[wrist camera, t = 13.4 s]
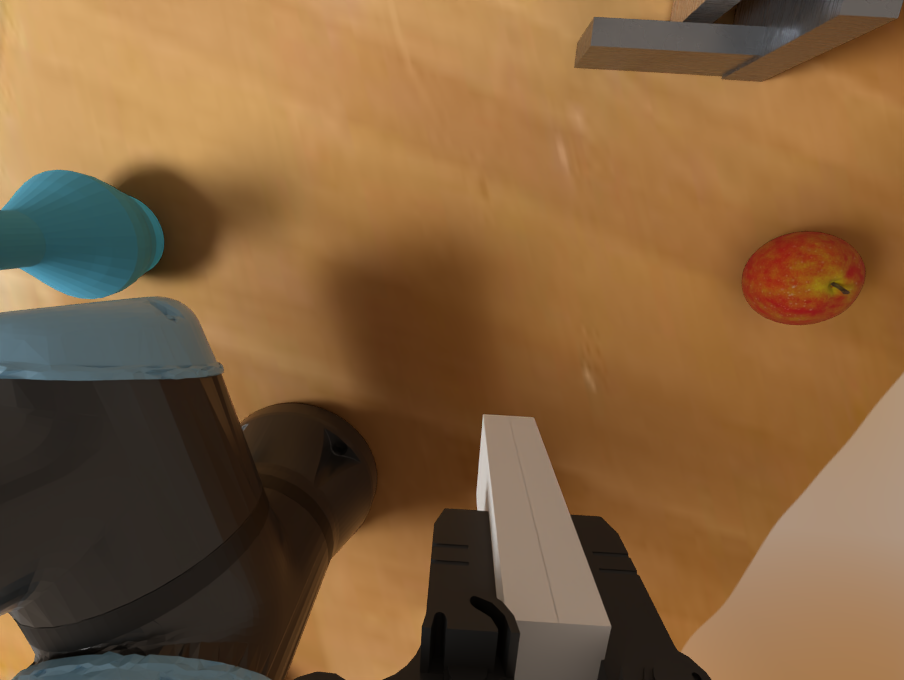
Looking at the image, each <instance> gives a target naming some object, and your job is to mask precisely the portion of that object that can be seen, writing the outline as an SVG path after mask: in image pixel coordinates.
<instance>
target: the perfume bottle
mask: <svg viewBox="0 0 904 680" xmlns="http://www.w3.org/2000/svg"><path fill="white" fill-rule="evenodd" d="M163 250H164V235H163V231H162V228H161V225H160V223H159V221H158V219H157V218H156V216H155V215H154V213H153V212H152V211H151V210H150V209H149V208H148V207H147V206H146V205H145V204H143V203H142V202H141V201H139V200H137V199H135V198H133V197H131V196H128V195H127V194H125V193H123V192H121V191H119V190H117V189H116V188H114V187H113V186H111V185H109V184H107V183H105V182H103V181H101V180H99V179H97V178H94V177H92V176H88V175H85V174H81V173H77V172H73V171H66V170H52V171H45V172H42V173H40V174H37V175H35V176H33V177H32V178H31V179H29V180H28V181H26V182H25V183H24V184H23V185H22V186H21V187H20V188H19V189H18V190H17V191H16V193H15V194H14V195H13V196H12V198H11V199H10V200H9V202H8V203H7V204H6V205H5V206H4V207H3V208H2V209H1V210H0V270H5V269H14V268H20V269H22V270H23V271H25V272H27V273H29V274H30V275H32V276H34V277H35V278H37V279H38V280H40V281H42V282H43V283H45V284H47V285H48V286H50V287H52V288H54V289H56V290H58V291H60V292H62V293H64V294H67V295H70V296H73V297H77V298H85V299H95V298H103V297H106V296H109V295H112V294H114V293H117V292H120V291H122V290H124V289H125V288H127V287H128V286H130V285H131V284H133V283H134V282H135V281H136V280H137V279H138V278H139V277H140V276H142V275H143V274H145V272H147V271H149V270H151V269H152V268H154V266H155V265H156V264H157V263H158V262H159V260H160V259H161V257H162V254H163Z"/></svg>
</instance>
